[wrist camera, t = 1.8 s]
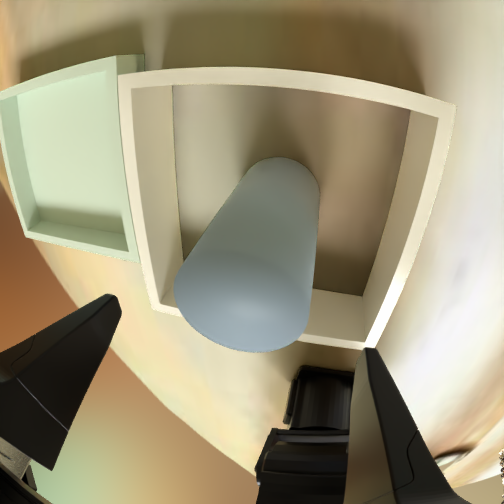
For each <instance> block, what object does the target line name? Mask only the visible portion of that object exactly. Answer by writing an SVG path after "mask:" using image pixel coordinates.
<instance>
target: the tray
mask: <svg viewBox="0 0 504 504" xmlns="http://www.w3.org/2000/svg"><path fill="white" fill-rule="evenodd" d="M136 72H145V67H144V54H135V55H117V56H112V57H107V58H102V59H98V60H94V61H89V62H85V63H82V64H78V65H74V66H71V67H67V68H64V69H60V70H57V71H54V72H51V73H48V74H45V75H42V76H39V77H36V78H33V79H30V80H28V81H25V82H22V83H20V84H17V85H15V86H12V87H10V88H7V89H5V90H3V91H0V141H1V146H2V152H3V157H4V162H5V166H6V171H7V175H8V179H9V183H10V187H11V191H12V195H13V198H14V202H15V205H16V209H17V212H18V215H19V218H20V221H21V224H22V228H23V230H24V233H25V236H26V237H28V238H32V239H36V240H40V241H44V242H48V243H52V244H56V245H61V246H65V247H69V248H73V249H78V250H82V251H86V252H91V253H95V254H100V255H104V256H109V257H113V258H118V259H122V260H127V261H132V262H136V263H141V261H140V256H139V251H138V246H137V241H136V235H135V230H134V224H133V219H132V213H131V207H130V200H129V194H128V187H127V180H126V172H125V164H124V156H123V146H122V136H121V125H120V112H119V96H118V75H122V74H129V73H136Z"/></svg>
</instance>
